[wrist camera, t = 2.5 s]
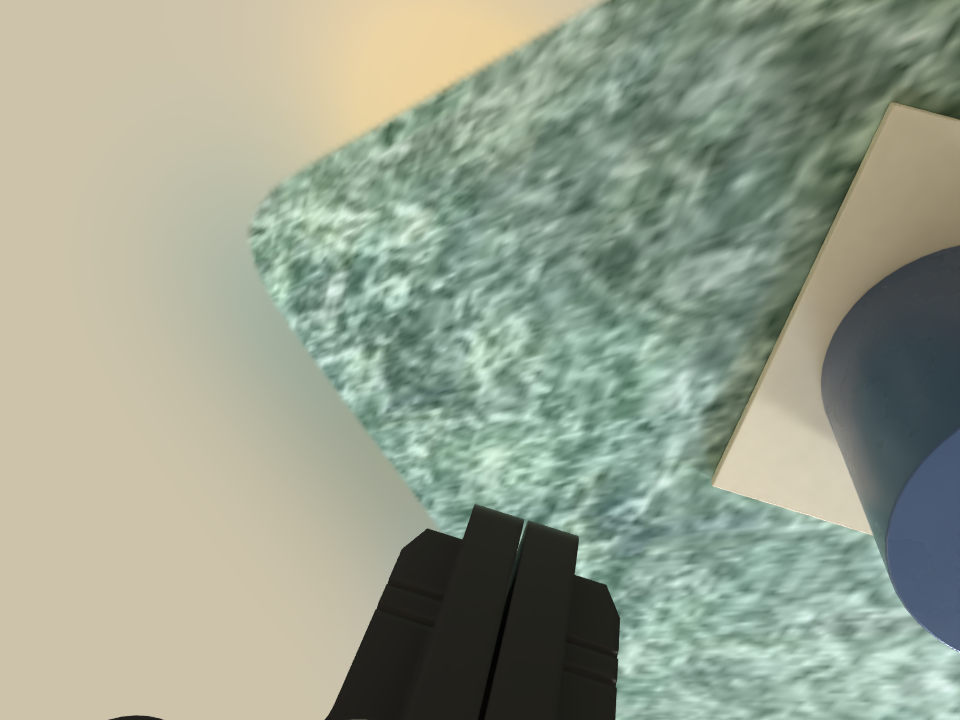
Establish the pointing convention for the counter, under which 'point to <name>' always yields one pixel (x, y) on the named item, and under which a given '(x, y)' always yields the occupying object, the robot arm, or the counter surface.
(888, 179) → the mat
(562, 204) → the counter surface
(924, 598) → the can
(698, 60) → the counter surface
